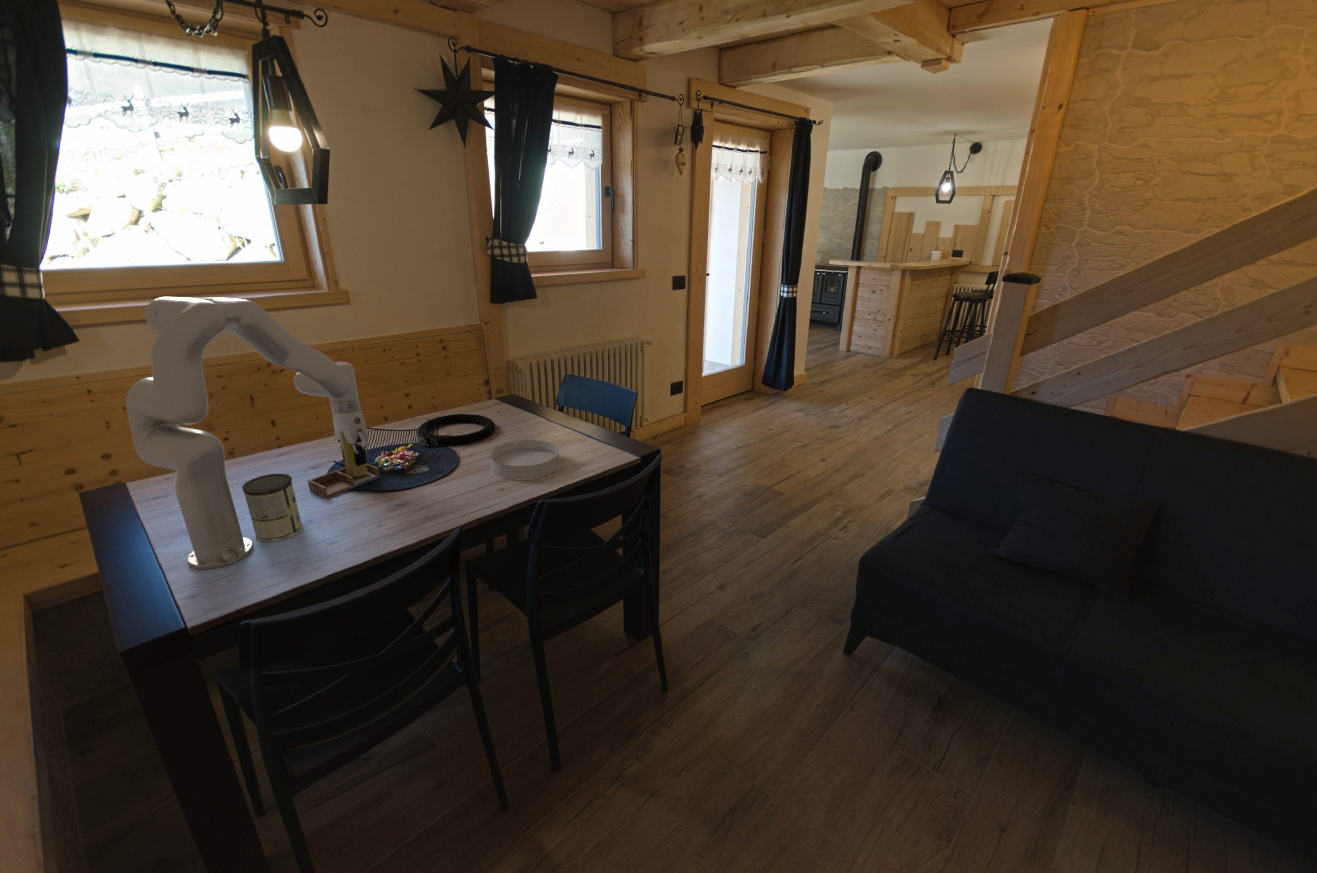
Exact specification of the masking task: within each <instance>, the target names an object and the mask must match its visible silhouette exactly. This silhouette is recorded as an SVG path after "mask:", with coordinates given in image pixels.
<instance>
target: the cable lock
mask: <svg viewBox="0 0 1317 873" xmlns="http://www.w3.org/2000/svg"><path fill="white" fill-rule="evenodd" d="M460 422H462V424H469V423H470V424H475V423H476V424H475V425H481V426H483V428H481V429H480V430H478V431H474V432H470V433H466V434H460V435H459V434H458V435H439V434H433V433H431V432H430V431H431V430H433V429H435V428H434V427H436V426H438V427H441V426H440V425H442V426H446V425H450V424H449V423H453V424H459V423H460ZM432 428H433V429H432ZM436 428H437V427H436ZM495 429H496V425H495V422H494V420H492V419H491V418H489V417H487V416H484V415H480V414H473V413H472V414H470V413H458V414H456V413H455V414H447V415H443V416H438V417H434V418H431V419H428V420H427V421H425V422H423V423H421V424H420V426H418V429H417V432H416V434H417V437H418V443H419V445H420V444H421V445H422V446H426V445H427V444H428V446H429V445H430V444H431V446H432V445H434V446H435V445H436V444H437V445H438V446H445V447H446V446H447V447H448V446H450V447H451V446H460V445H468V444H472V443H476V442H480V441H482V440H484V439H486V438H489V437H491V435H492V434H494V432H495ZM421 445H420V446H421ZM422 446H421V447H422ZM428 446H426V447H428ZM429 447H430V446H429Z"/></svg>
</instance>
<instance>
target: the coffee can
mask: <svg viewBox="0 0 1317 873" xmlns="http://www.w3.org/2000/svg"><path fill="white" fill-rule="evenodd" d="M242 491H243V494H244V496H245V501H246V505H247V508H248V513H249V515H250V519H251V523H252V527H253V530H254V533H255V538H256V539H257V540H258V541H259V542H263V543H271V542H273V543H275V542H279V541H283V540H286V539H289V538H291V537H293V536H295V535H297V534H299V533H300V532H301V530H302V529H303V524H302V520H301V516H300V511H299V507H298V503H297V499H296V495H295V490H294V485H293V479H292V477H291V475H289V474H286V473H271V474H265V475H264V474H263V475H261V476H257V477H254V478H252V479H250V480H248V481H246V482H245V483H244V484H243V485H242Z"/></svg>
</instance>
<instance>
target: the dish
mask: <svg viewBox="0 0 1317 873" xmlns="http://www.w3.org/2000/svg"><path fill="white" fill-rule="evenodd" d="M490 459H491V461H490V466H491V472H492V471H493V472H494V473H493V472H492V473H493V474H494V475H495V474H497V475H498V476H497V475H496V476H497V477H499V476H501V477H500V478H502V477H505V478H511V479H530V478H537V477H541V478H543V477H542V476H545V475H547V476H549V475H548V474H550V473H552V472H553V473H555V472H556V471H557V470H558V469H559V468H560V466H561V458H560V450H559V447H557V445H555V444H554V443H552V442H547V441H544V440H539V439H537V440H536V439H526V440H525V439H524V440H515V441H510V442H506V443H504V444H503V443H502V444H501V445H499V446H497V447H495V448H494V449H493V450H492V451H491V453H490ZM559 465H560V466H559ZM558 467H559V468H558ZM557 468H558V469H557ZM556 469H557V470H556ZM555 470H556V471H555ZM554 471H555V472H554ZM553 473H552V474H553ZM550 475H551V474H550ZM545 477H546V476H545ZM505 478H504V479H505ZM511 479H510V480H511ZM537 479H538V478H537ZM530 480H531V479H530Z"/></svg>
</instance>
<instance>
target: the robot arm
mask: <svg viewBox="0 0 1317 873" xmlns="http://www.w3.org/2000/svg"><path fill="white" fill-rule="evenodd" d="M144 316H145V317H144V319H145V320H146V323H147V325H149V327H150V328H151V329H153V330H154V331H155V332H157V333H158V336H157V337H156V339H155V341H154V342H153V344H152V346H151V350H150V367H151V373H152V374H151V375H152V376H151V377H145V378H142V379H139V380H137V381H136V382H135V383H134V384H132V386H130V388H129V390H128V393H127V394H126V400H125V405H126V406H125V407H126V412H127V418H128V422H129V429H130V432H131V437H132V442H133V446H134V450H135V452H136V454H137V456H138V457H139V458H140V460H142V461H143V462H144V463H146V464H148V465H150V466H154V467H158V468H162V469H163V468H164V469H169V470H173V471H175V473H176V481H175V486H174V490H175V495H176V499H177V502H178V505H179V508H180V511H181V514H182V517H183V521H184V523H185V527H186V530H187V534H188V536H189V539H190V543H191V546H192V550H193V551H192V552H190V553H189V555H188V556H187V563H188V565H189V566H190V567H191V568H193V569H199V570H209V569H210V570H211V569H215V568H222V567H224V566H229V565H231V564H234V563H235V562H236V563H237V562H238V561H240V560H242V559H244V558H245V557H247V556H248V555H249V554H251V552H252V551H253V550H254V543H253V541H252V540H251V539H249V538H248V537H243V532H242V529H241V525H240V522H239V519H238V514H237V512H236V508H235V504H234V501H233V500H234V499H233V497H232V492H231V490H230V486H229V482H228V478H227V473H226V472H227V471H226V464H225V463H226V461H225V460H226V457H225V456H226V455H225V454H226V453H225V448H224V444H223V443H222V441H221V440H220V439H219V438H218V437H217V436H216V435H214V434H212V433H210V432H209V431H205V430H203V429H202V430H201V429H197V428H196V429H195V428H190V427H182V426H180V425H194V424H197V423H201V422H202V421H203V420H204V419H206V417H207V416H208V413H209V397H208V393H207V392H208V391H207V386H206V380H205V374H204V367H203V366H204V364H203V360H204V359H203V358H204V354H205V351H206V349H207V348H208V346H209V345H211V343H212V342H213V341H214V339H216V338H217V337H218V336H219V335H220V334H227V335H234V336H237V337H238V338H239V339H240V340H242V341H243V342H244V343H245V344H247V345H248V346H249V347H250V348H252V349H253V350H254V351H255V352H256V353H258V354H259V355H260V356H261V357H262V358H263V359H264V360H266V361H267V362H269V363H272V364H274V365H276V366H278V367H280V368H284V369H286V370H290V371H294V372H295V373H296V374H295V375H294V377H293V385H294V387H295V389H296V390H297V391H298V392H299V393H301V394H304V395H309V396H313V397H314V396H316V397H323V398H324V397H325V398H328V400H329V405H330V410H331V413H332V414H331V415H332V424H333V430H334V436H335V437H336V439H337V441H338V443H339V448H340V449H341V454H342V459H343V461H344V462H345V458H344V453H343V447H342V442H341V437H340V431H342V432H343V433H344V437H345V439H346V441H347V442H348V443H350V444H352V446H353V448H354V451H355V453H354V458H355V463H356V466H360V465H363V464H366V463H367V464H368V460H367V456H366V455H367V454H366V451H367V447H368V446H369V442H368V441H369V432H368V430H367V424H366V420H365V417H364V414H363V412H362V410H361V405H360V398H359V393H358V388H357V380H356V374H355V368H354V366H353V364H352V363H350V362H347V361H334V360H333V359H331V358H330V357H329V356H327V355H326V354H324V353H322V352H321V351H319V350H317V349H315V348H314V347H312V346H310V345H308V344H307V343H305V342H302V341H301V340H299V339H297V338H296V337H294V335H292V334H291V333H290V332H289V331H288V330H286V328H284V326H282V325H281V324H280V323H279V322H278V321H277V320H276V319H275V318H274V317H273V316H272V315H270V314H269V313H268V312H267V311H266V310H265V309H264V308H263V307H262V306H260V305H259V304H258V303H257V302H254V301H252V300H249V299H243V298H235V297H234V298H231V297H189V296H187V297H185V296H184V297H183V296H161V297H157V298H155V299H153V300H152V301H150V302H148V305H147V306H146V307H145V312H144ZM357 440H359V442H356V441H357ZM358 444H360V446H359V447H358V448H357V446H356V445H358Z"/></svg>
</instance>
